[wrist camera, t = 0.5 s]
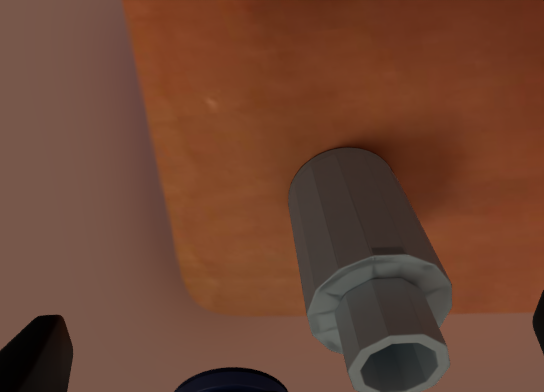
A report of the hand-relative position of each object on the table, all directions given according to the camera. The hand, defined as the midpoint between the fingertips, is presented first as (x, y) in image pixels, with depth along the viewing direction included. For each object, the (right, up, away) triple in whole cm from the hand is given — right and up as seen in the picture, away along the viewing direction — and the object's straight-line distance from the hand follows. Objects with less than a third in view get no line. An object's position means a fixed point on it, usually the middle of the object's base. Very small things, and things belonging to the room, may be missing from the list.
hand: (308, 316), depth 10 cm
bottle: (+3, +2, +15) cm, 15 cm away
